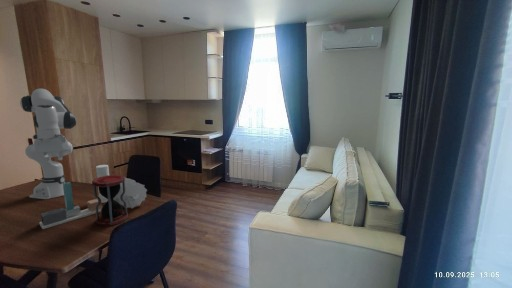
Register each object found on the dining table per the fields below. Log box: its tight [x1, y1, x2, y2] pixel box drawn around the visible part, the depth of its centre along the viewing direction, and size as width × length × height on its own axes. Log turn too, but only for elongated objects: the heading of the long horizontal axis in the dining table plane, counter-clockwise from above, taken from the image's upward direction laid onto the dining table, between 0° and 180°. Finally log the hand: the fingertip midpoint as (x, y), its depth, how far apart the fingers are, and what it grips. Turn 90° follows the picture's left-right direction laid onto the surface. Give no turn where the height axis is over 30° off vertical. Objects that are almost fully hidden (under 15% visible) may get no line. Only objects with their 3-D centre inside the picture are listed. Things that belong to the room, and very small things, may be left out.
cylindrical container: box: [95, 164, 110, 204], centre depth 163 cm, size 7×7×25 cm
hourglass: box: [91, 174, 129, 227], centre depth 138 cm, size 16×16×25 cm
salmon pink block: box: [87, 198, 103, 212], centre depth 149 cm, size 6×5×5 cm
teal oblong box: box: [63, 181, 81, 217], centre depth 136 cm, size 16×4×20 cm, turn 141°
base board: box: [39, 208, 101, 230], centre depth 142 cm, size 30×8×1 cm, turn 141°
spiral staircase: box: [113, 176, 148, 209], centre depth 159 cm, size 18×18×25 cm
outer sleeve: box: [40, 207, 67, 226], centre depth 134 cm, size 10×5×5 cm, turn 141°
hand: (53, 160), depth 129 cm, fingers open, 8 cm apart
